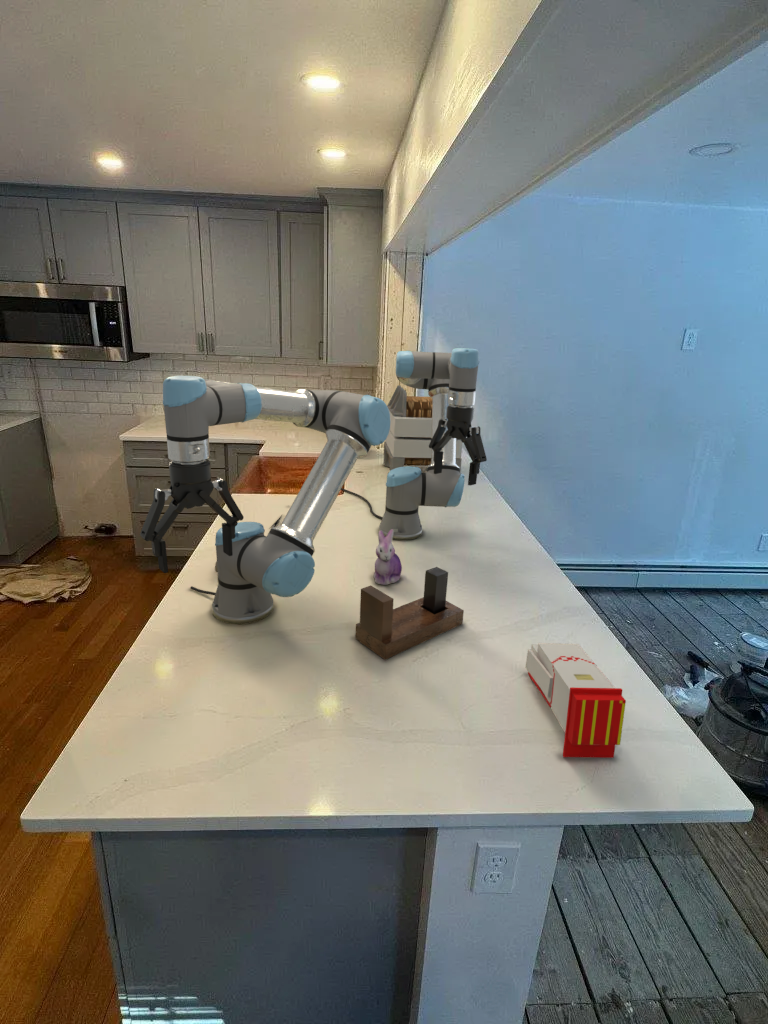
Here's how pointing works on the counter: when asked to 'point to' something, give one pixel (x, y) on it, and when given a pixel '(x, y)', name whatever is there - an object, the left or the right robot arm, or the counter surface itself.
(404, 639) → the peg board
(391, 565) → the figurine
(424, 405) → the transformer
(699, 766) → the counter surface
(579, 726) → the toy
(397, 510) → the right robot arm
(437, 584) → the peg
